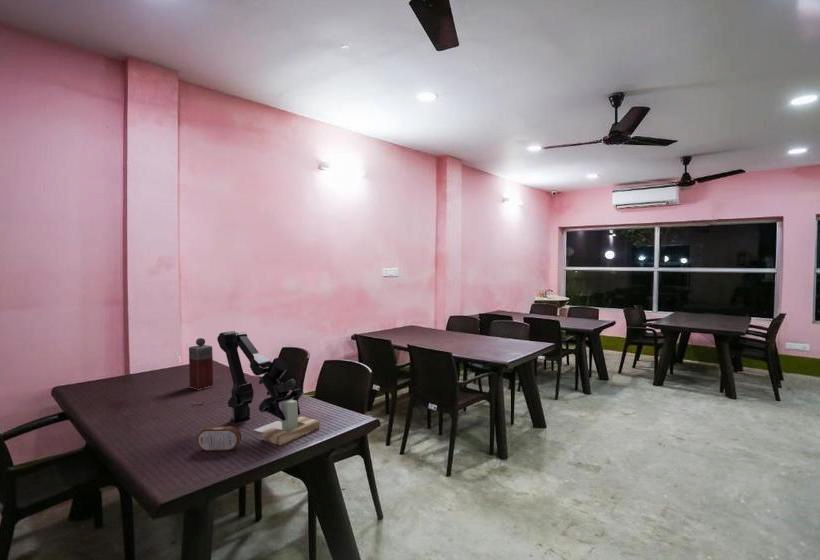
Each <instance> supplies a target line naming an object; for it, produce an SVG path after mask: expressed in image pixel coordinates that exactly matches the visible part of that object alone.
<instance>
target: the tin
mask: <svg viewBox="0 0 820 560" xmlns="http://www.w3.org/2000/svg"><path fill="white" fill-rule="evenodd" d="M196 437H197V438H196V439H197V440H196V442H197V445H198V447H199V448H200V449H202V450H203V451H207V452H220V451H221V452H222V451H223V452H228V450H229V451H232V450H234V449H236V448H237V447H238V446H239V445H240V443H241V441H242V433H241V431H240V430H239V429H238V428H237V427H235V426H232V425H219V426H218V425H217V426H215V425H211V426H210V425H208V426H206V427H203V429H201V431H200V432H199V433H198V434H197V436H196Z"/></svg>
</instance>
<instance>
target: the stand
mask: <svg viewBox="0 0 820 560" xmlns="http://www.w3.org/2000/svg"><path fill="white" fill-rule="evenodd" d="M320 425H321V424H320V420H318V419H314V418H310V417H305V416H298V428H295V429H293V430H291V431H288V432H287V431H284V430H280V429H277V428H270V429H268V430H265V431H263V432H262V433H261V439H262V441H265V442H269V443H272V444H275V445H277V444H278V446H283V445H285V444H287V443H290V442H292V441H294V440H296V439H298V438H300V436H301V437H303V436H305V435H308V434H310V433H311V431H312V432H314V431H316V430H318V428H319V427H321V426H320ZM315 429H316V430H315ZM319 429H320V428H319ZM313 430H314V431H313ZM309 432H310V433H309ZM304 434H305V435H304ZM302 435H303V436H302ZM293 439H294V440H293ZM291 440H292V441H291ZM282 444H283V445H282Z"/></svg>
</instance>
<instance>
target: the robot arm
mask: <svg viewBox="0 0 820 560" xmlns="http://www.w3.org/2000/svg"><path fill="white" fill-rule="evenodd" d="M217 343H218V345H219V348H220V349H221V350H222V351H223V352H224V353H225V355H226V360H227V363H228V368H229V372H230V375H231V376H230V377H231V379H232V384H233V385H232V388H231V390H230V391H231V397H230V398H229V400H228V401H227V405H228V406H227V407H228V408H231V417H230V419H231V420H232V421H233V422H234V423H238V422H242V421H246V420H250V419H251V408H250V406H249V405H250V404H252V403H253V399H254V394H255V393H254V392H255V390H254V389H253V384H252V383H251V382H248V381H247V380H246V378H245V374H244V370H243V366H242V362H241V358H240V354H239V349H240V350H241V352H242V353H243V354H244V355H245V357H246V358H247V359H248V361H249V368H250V370H251V371H252V372H251V373H252V374H253V375H255V376H261V375H262V376H261V377H259V382H258V385H261V384H262V385H264V387H265V389H266V391H267V392H266V395H267V396H269V397H267V398H264V399H263V400H262V401H261V403H260V404H259V405H258V411H260V413H261V414H262V413H266V414H270V415H272V416H275V417H276V418H278V419H280V420H281V421H282V420H283V421H285V416H284V415H283V413H282V408H281V407H280V403H281V404H282V403H284V402H286V401H289V400H295V401H297V402H298V416H300V415H301V410H300V405H299V399H300V398H301V397H302V396H303V395H304V394H305V393H304V391H303V389H302V388H300V387H299V388H295V387H296V386H297V382H296V380H295V379H294V378H290V379H288V380H287V381H286V382H280V380H279V379H281V378H282V377H283V376H284V374H285V373H286V371H287V370H288V368H289V364H288V362H286V361H285V360H283V359H280V358H279V357H275V358H274V359H273V360H272V361H271V360H270V359H269V358H268V357H267V356H265V355H262V354H261V353H260V352H259V351H258V349H257V348H256V347H255V345H254V344H253V342H251V340H250V338H249V337H248V334H247V333H246V332H236V331H235V330H232V331H225V332H224V331H223V332H220V333H219V334H218V336H217ZM238 348H239V349H238ZM292 389H293V390H292ZM291 390H292V391H291ZM290 391H291V392H290Z"/></svg>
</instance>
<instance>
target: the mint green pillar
mask: <svg viewBox="0 0 820 560" xmlns="http://www.w3.org/2000/svg"><path fill="white" fill-rule="evenodd" d="M298 404H299V401H298V402H297V401H295V400H286V401H283V402H281V411H282V413H283V415H284V416H285V421H283V420H281V422H282V430H284V431H287V432H288V431H291V430H293V429H295V428H298V418H299V415H298Z"/></svg>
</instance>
